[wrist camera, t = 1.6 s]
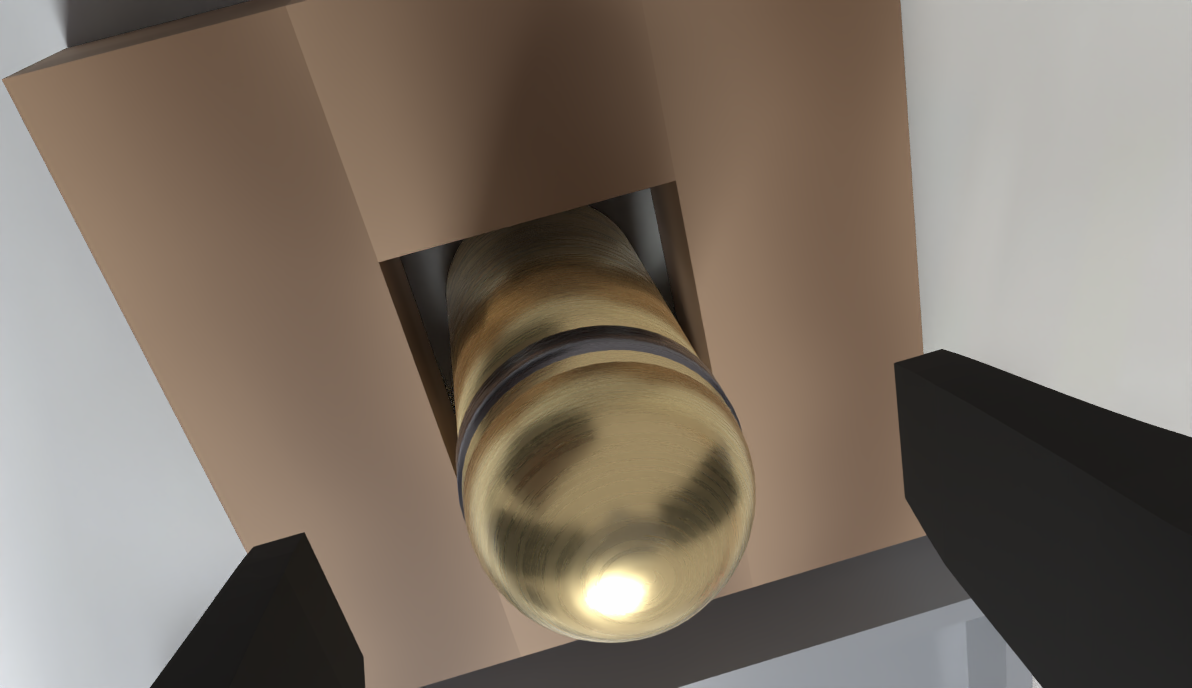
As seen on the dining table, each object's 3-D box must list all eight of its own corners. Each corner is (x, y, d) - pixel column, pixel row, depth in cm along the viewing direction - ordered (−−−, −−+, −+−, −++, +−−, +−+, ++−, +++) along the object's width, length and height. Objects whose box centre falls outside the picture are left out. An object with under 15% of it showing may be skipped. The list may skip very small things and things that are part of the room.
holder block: (339, 621, 20) (330, 714, 18) (65, 47, 14) (1, 79, 12) (878, 461, 20) (935, 532, 18) (819, -147, 15) (890, -151, 13)
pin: (475, 402, 18) (517, 750, 11) (416, 226, 16) (419, 501, 9) (659, 350, 18) (821, 658, 11) (620, 170, 17) (782, 395, 9)
